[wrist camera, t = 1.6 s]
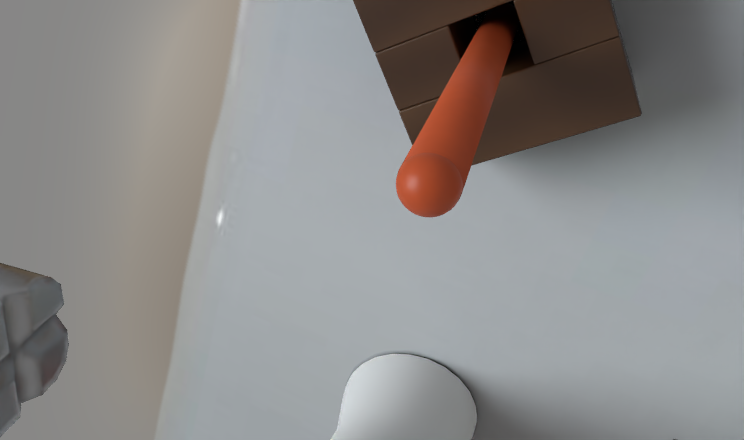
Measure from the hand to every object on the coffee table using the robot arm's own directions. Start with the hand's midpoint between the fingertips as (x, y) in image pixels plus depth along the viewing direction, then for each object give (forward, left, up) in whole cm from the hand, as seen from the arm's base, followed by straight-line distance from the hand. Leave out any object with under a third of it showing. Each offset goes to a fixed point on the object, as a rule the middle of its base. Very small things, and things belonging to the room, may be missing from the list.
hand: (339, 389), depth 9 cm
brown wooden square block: (0, 0, -24) cm, 24 cm away
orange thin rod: (0, 0, -24) cm, 24 cm away
